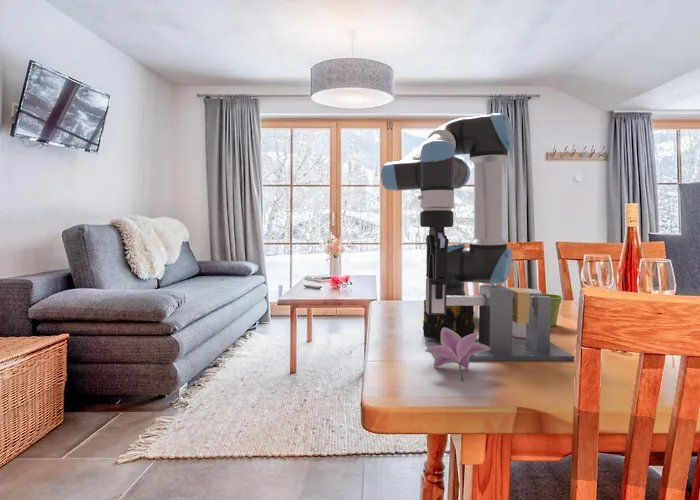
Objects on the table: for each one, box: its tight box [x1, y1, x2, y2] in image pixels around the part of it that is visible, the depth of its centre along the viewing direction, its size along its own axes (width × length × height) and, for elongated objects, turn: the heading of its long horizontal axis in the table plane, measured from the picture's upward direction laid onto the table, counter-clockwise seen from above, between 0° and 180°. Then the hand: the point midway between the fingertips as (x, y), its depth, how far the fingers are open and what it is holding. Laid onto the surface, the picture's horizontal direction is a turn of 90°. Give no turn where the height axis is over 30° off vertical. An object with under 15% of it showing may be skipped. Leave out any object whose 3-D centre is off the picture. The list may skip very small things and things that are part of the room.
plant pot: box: [542, 293, 564, 327], centre depth 127 cm, size 9×9×9 cm
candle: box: [422, 299, 476, 339], centre depth 113 cm, size 10×10×10 cm
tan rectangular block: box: [505, 286, 529, 324], centre depth 98 cm, size 8×2×7 cm, turn 0°
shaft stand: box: [424, 284, 575, 362], centre depth 99 cm, size 14×30×15 cm, turn 90°
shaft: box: [425, 277, 535, 315], centre depth 98 cm, size 4×26×8 cm, turn 90°
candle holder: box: [512, 287, 543, 339], centre depth 115 cm, size 10×10×12 cm
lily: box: [424, 328, 491, 382], centre depth 83 cm, size 12×12×10 cm
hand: (435, 310), depth 98 cm, fingers closed on shaft, 4 cm apart
